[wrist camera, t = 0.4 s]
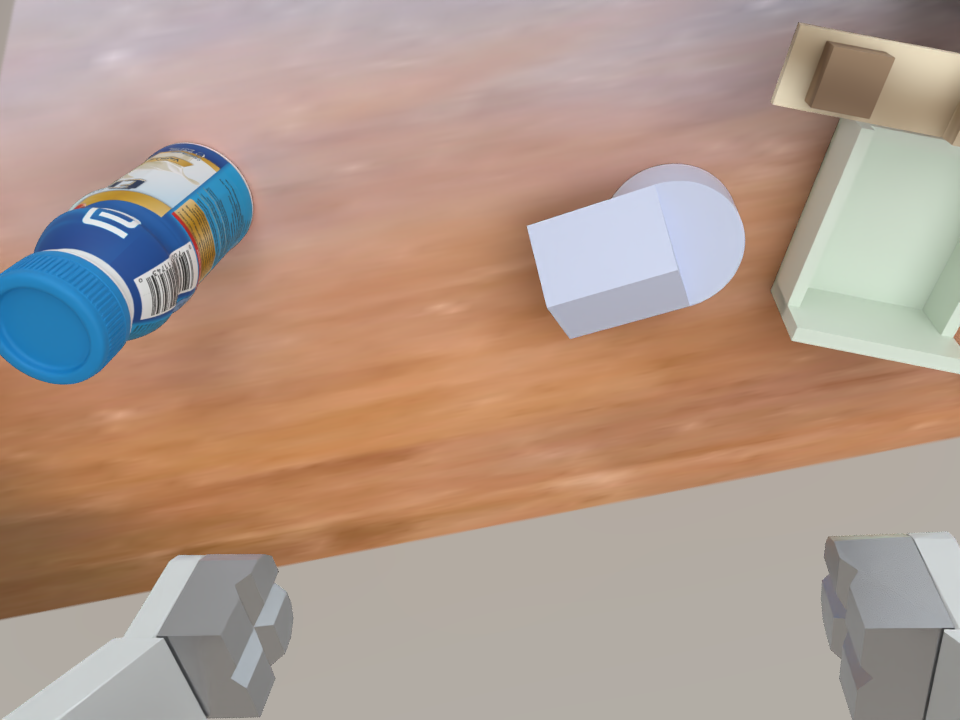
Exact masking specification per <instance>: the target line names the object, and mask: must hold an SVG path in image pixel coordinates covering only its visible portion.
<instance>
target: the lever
mask: <svg viewBox="0 0 960 720" xmlns="http://www.w3.org/2000/svg"><path fill="white" fill-rule="evenodd" d="M770 102H771V103H772V105H777V106H782V107H787V108H793V109H798V110H803V111H808V112H813V113H818V114H824V115H829V116H834V117H839V118H844V119H849V120H855V121H860V122H865V123H870V124H875V125H880V126H886V127H891V128H896V129H901V130H906V131H911V132H916V133H922V134H927V135H932V136H937V137H942V138H943V139H945V140H946V141H947V142H949V143H950V144H951V145H953V146H958V147H960V53H956V52H951V51H945V50H940V49H935V48H930V47H924V46H919V45H914V44H909V43H904V42H898V41H893V40H888V39H883V38H878V37H872V36H867V35H862V34H857V33H852V32H846V31H841V30H836V29H831V28H825V27H820V26H815V25H810V24H805V23H799V22H798V25H797V28H796V30H795V33H794V36H793V39H792V42H791V45H790V47H789V50H788V53H787V56H786V59H785V62H784V64H783V67H782V70H781V73H780V76H779V79H778V82H777V84H776V87H775V90H774V93H773V96H772V99H771V101H770Z"/></svg>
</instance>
